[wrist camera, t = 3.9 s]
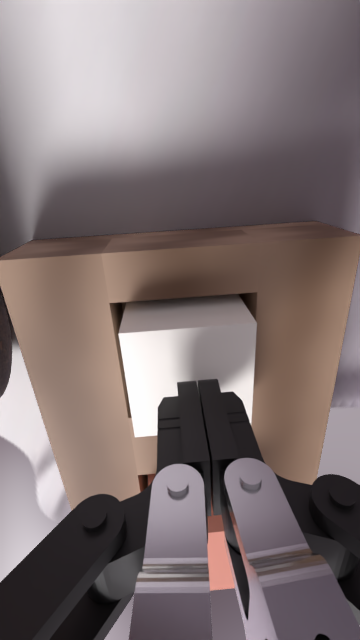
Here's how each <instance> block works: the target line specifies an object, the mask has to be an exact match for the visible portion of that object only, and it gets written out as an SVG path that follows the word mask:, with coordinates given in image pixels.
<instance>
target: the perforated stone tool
mask: <svg viewBox="0 0 360 640" xmlns="http://www.w3.org/2000/svg"><path fill="white" fill-rule="evenodd" d="M11 364H12V342H11V331H10V325H9V320H8V316H7V312H6V309H5V305H4V302H3V299H2V297H1V294H0V397H1V396H2V395H3V393H4V392H5V389H6V387H7V385H8V382H9V378H10V373H11Z"/></svg>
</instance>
